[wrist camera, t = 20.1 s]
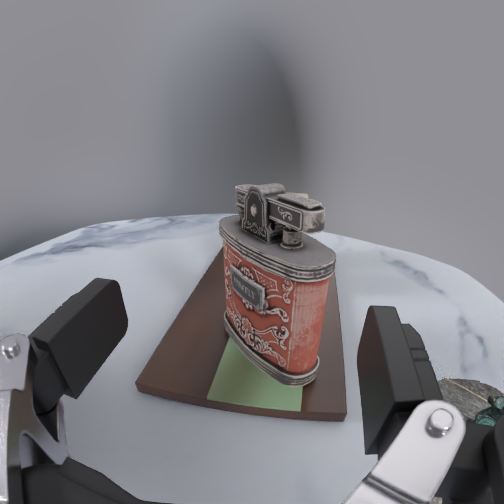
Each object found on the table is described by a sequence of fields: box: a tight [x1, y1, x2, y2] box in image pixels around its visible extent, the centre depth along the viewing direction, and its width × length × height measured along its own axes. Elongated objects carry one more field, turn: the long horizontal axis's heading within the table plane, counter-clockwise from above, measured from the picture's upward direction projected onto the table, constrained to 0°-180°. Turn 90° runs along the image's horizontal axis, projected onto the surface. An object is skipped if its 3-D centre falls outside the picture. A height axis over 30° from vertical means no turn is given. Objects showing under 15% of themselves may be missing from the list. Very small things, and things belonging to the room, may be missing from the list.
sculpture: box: [430, 378, 504, 504], centre depth 10 cm, size 12×9×8 cm
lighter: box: [219, 183, 336, 387], centre depth 17 cm, size 8×3×10 cm, turn 34°
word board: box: [135, 193, 347, 421], centre depth 24 cm, size 12×22×7 cm, turn 170°
